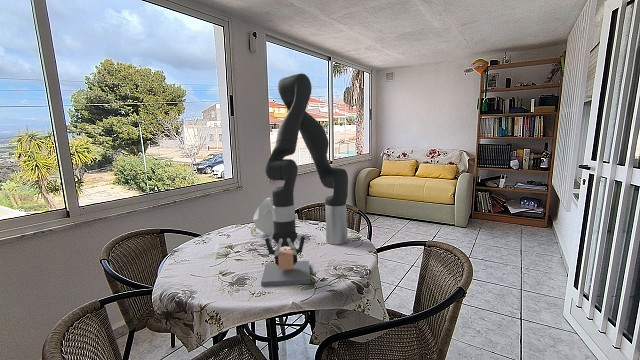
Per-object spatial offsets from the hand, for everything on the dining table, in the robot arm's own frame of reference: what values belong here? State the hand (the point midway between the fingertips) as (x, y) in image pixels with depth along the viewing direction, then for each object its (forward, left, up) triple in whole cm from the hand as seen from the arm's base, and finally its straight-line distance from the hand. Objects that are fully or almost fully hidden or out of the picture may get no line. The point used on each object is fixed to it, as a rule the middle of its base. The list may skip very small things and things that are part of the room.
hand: (286, 264), depth 104 cm
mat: (0, 0, -4) cm, 4 cm away
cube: (0, 0, -1) cm, 1 cm away
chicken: (+9, -41, -4) cm, 42 cm away
